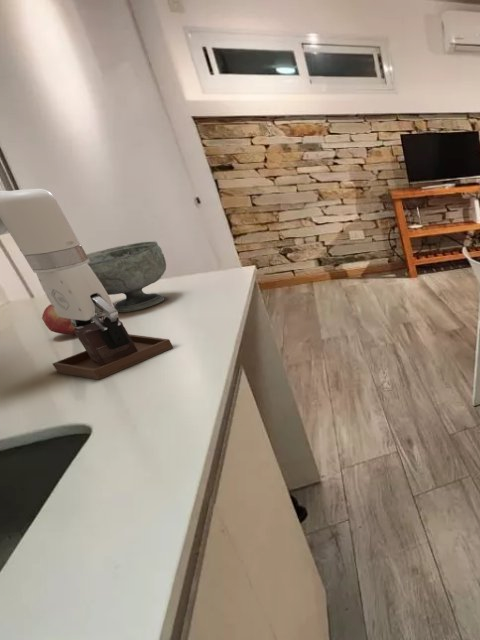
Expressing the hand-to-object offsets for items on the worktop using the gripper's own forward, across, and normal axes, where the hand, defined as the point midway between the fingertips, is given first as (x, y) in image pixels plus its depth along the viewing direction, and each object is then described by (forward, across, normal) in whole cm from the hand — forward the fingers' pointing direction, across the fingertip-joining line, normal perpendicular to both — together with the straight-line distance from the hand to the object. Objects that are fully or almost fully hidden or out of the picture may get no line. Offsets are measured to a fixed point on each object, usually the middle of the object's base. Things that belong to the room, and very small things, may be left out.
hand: (107, 343), depth 95 cm
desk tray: (+4, 0, 0) cm, 4 cm away
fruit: (+4, -28, +7) cm, 29 cm away
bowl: (+4, -34, +23) cm, 41 cm away
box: (+3, 0, 0) cm, 3 cm away
